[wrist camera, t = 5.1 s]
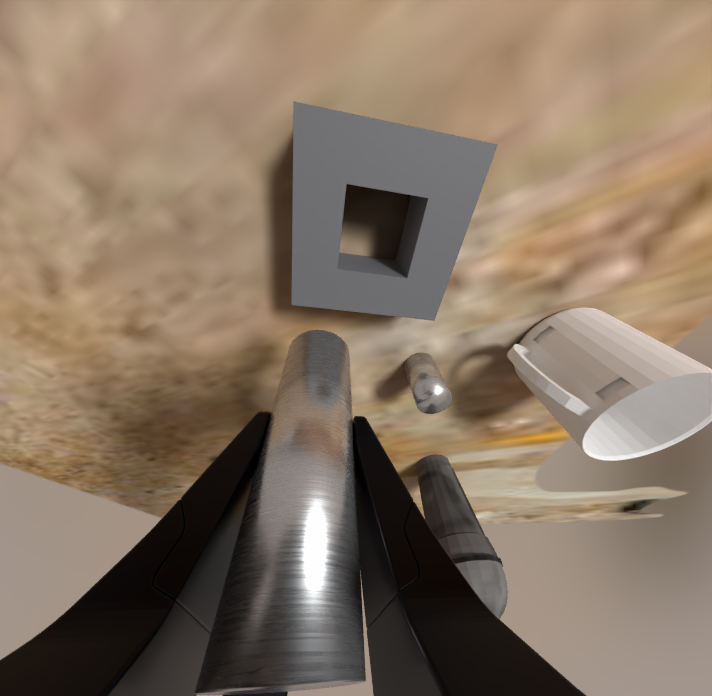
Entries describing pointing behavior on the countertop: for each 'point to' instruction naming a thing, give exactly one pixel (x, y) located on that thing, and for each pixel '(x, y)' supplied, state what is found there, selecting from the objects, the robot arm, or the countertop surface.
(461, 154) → the hole block
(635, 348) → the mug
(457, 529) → the beverage cup
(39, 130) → the countertop surface
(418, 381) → the short pin
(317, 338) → the long pin
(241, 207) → the countertop surface
